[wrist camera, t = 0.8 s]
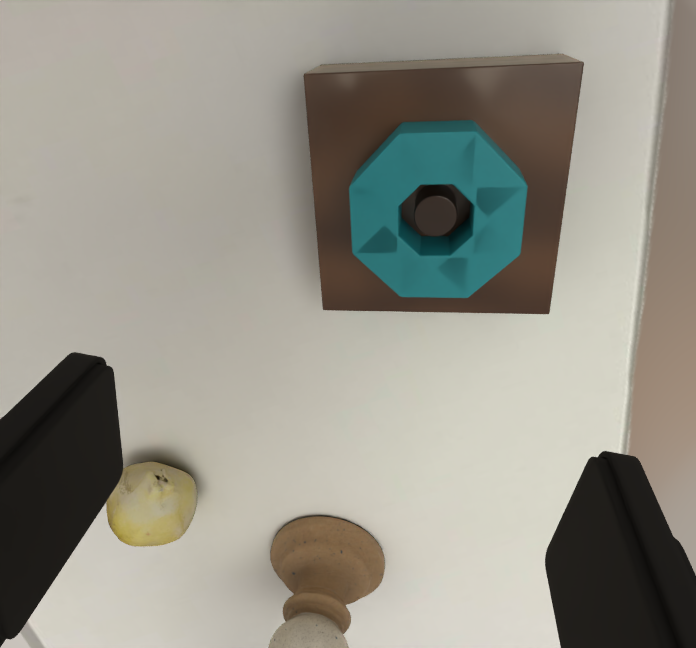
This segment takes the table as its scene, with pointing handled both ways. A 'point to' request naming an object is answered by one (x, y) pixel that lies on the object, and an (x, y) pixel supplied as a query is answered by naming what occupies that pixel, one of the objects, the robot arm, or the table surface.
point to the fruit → (151, 504)
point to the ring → (429, 169)
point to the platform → (443, 199)
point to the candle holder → (323, 579)
